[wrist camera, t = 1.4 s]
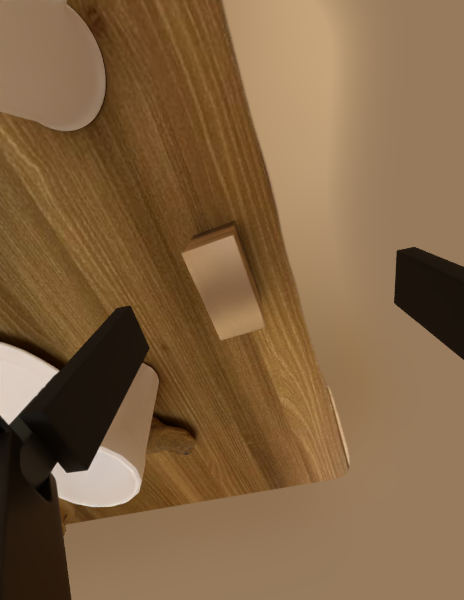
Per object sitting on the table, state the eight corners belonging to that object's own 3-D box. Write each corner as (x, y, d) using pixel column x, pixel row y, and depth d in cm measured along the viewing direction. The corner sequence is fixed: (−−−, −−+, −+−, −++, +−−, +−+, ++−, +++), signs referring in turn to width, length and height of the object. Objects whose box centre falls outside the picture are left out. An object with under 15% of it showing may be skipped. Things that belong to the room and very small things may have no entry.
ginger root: (121, 437, 41) (110, 460, 38) (153, 402, 37) (145, 424, 34) (173, 462, 43) (167, 485, 40) (208, 432, 40) (205, 455, 36)
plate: (-48, 304, 31) (-65, 312, 29) (105, 374, 35) (98, 384, 33) (-64, 400, 38) (-79, 411, 36) (64, 448, 42) (56, 460, 41)
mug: (74, -81, 17) (-198, -502, 7) (158, 56, 20) (67, -77, 10) (-25, 50, 20) (-319, -87, 10) (61, 153, 23) (-91, 135, 13)
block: (193, 235, 26) (180, 253, 21) (234, 220, 26) (233, 234, 20) (224, 308, 30) (220, 340, 24) (260, 297, 29) (266, 327, 24)
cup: (185, 366, 34) (156, 466, 22) (158, 412, 38) (122, 518, 26) (112, 335, 32) (39, 427, 20) (91, 387, 36) (21, 489, 24)
